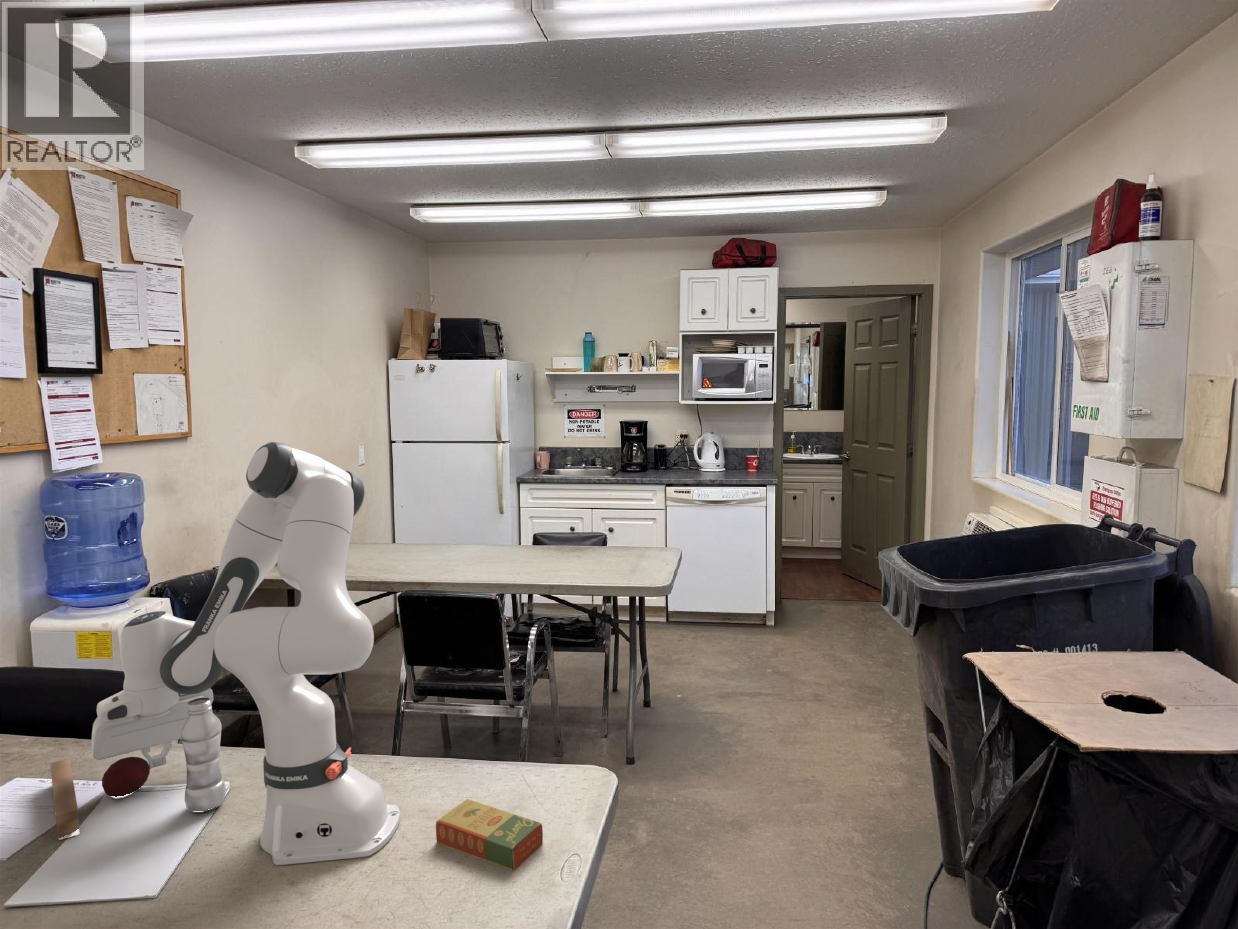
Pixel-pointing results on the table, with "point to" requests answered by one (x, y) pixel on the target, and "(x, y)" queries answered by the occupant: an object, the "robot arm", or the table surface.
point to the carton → (489, 834)
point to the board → (64, 798)
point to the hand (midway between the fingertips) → (157, 765)
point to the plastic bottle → (202, 756)
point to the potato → (125, 776)
